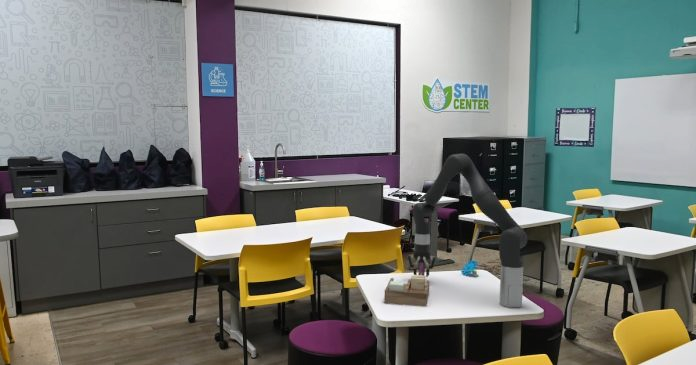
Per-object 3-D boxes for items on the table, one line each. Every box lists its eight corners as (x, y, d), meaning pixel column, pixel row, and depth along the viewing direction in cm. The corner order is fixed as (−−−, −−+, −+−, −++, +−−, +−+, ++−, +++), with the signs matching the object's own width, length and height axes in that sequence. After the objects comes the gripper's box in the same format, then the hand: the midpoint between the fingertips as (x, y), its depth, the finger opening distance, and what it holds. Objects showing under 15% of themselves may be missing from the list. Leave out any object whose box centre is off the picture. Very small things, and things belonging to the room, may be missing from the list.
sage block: (390, 291, 241) (391, 280, 241) (404, 292, 240) (404, 281, 239) (389, 295, 235) (389, 284, 235) (402, 296, 234) (403, 285, 233)
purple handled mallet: (415, 278, 272) (415, 260, 271) (427, 279, 270) (428, 261, 270) (410, 293, 245) (411, 274, 245) (424, 294, 244) (424, 275, 243)
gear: (457, 269, 288) (471, 256, 289) (464, 276, 290) (477, 263, 290) (466, 277, 278) (480, 264, 278) (473, 284, 280) (487, 271, 280)
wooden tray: (390, 289, 256) (390, 277, 255) (429, 291, 252) (429, 280, 252) (384, 303, 234) (384, 290, 234) (426, 306, 231) (426, 293, 230)
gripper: (407, 243, 266) (406, 277, 267) (436, 244, 263) (435, 279, 264) (408, 240, 273) (407, 273, 275) (437, 241, 270) (436, 275, 272)
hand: (421, 275), depth 269 cm, fingers open, 5 cm apart
